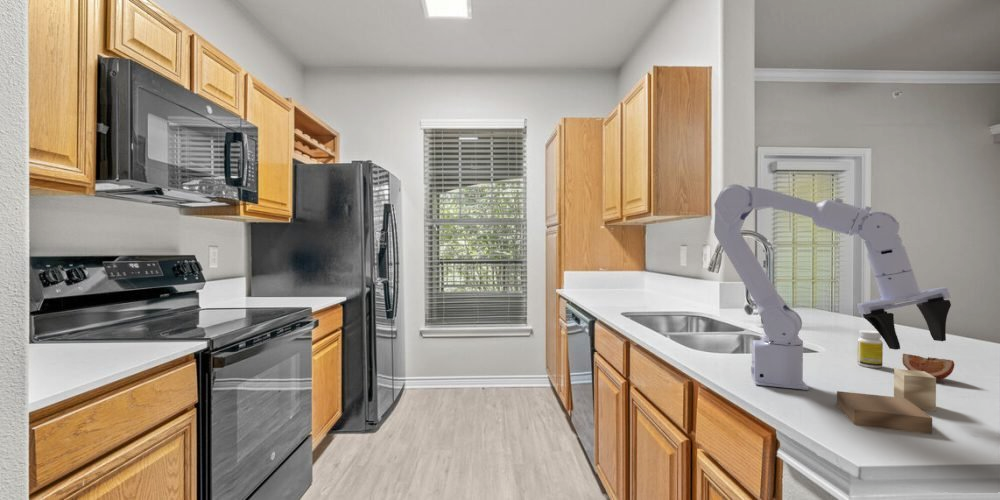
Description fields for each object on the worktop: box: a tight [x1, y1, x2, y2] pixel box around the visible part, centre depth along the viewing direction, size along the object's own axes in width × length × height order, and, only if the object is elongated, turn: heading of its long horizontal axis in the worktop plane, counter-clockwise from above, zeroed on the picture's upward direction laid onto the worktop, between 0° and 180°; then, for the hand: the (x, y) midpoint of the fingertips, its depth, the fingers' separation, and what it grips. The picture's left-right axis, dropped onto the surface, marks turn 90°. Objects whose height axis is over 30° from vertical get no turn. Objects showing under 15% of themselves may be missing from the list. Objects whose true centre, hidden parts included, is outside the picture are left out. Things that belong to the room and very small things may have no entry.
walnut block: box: [836, 390, 933, 435], centre depth 78 cm, size 10×10×3 cm
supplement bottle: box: [857, 329, 884, 369], centre depth 111 cm, size 5×5×8 cm
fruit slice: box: [901, 353, 955, 381], centre depth 101 cm, size 8×7×5 cm
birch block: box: [893, 368, 937, 412], centre depth 84 cm, size 4×4×6 cm
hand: (917, 344), depth 85 cm, fingers open, 7 cm apart
